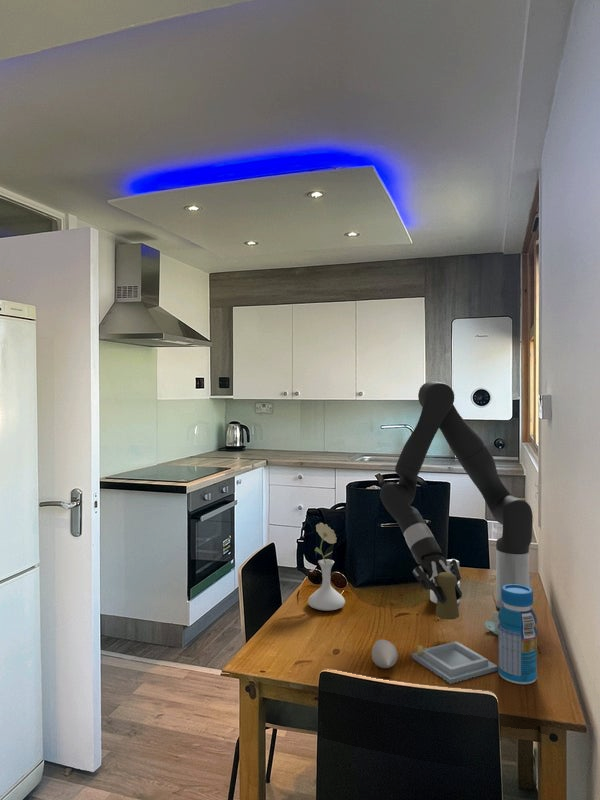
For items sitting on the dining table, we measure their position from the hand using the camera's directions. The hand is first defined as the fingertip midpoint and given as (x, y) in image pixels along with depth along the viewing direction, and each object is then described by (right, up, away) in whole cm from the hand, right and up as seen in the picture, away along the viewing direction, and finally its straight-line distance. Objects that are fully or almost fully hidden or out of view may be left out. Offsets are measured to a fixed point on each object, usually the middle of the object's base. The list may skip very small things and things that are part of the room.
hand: (451, 599), depth 146 cm
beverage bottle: (+10, -11, -19) cm, 24 cm away
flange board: (-3, -11, -13) cm, 17 cm away
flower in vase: (-32, -11, +24) cm, 42 cm away
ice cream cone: (-20, -11, -15) cm, 27 cm away
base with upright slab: (+6, -11, +29) cm, 31 cm away
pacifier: (+14, -11, +5) cm, 19 cm away
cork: (-1, -5, +2) cm, 5 cm away
